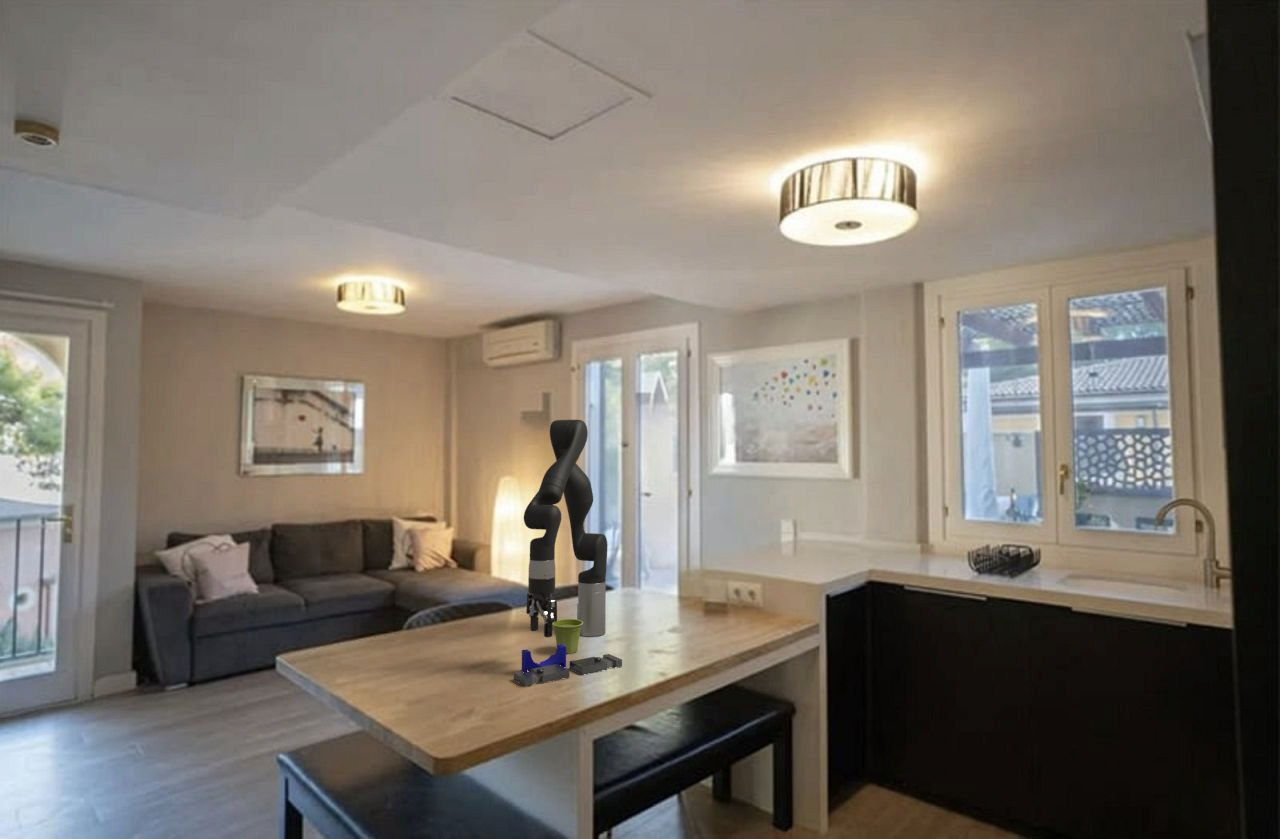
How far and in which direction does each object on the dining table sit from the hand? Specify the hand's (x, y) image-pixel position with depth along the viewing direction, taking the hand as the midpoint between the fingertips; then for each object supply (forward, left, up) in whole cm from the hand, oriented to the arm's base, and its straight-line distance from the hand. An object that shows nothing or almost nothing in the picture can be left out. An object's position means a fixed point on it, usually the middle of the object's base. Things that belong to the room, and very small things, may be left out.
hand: (541, 633), depth 196 cm
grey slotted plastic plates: (+9, +4, -9) cm, 14 cm away
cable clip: (+1, 0, -10) cm, 10 cm away
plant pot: (-10, +14, -10) cm, 20 cm away
